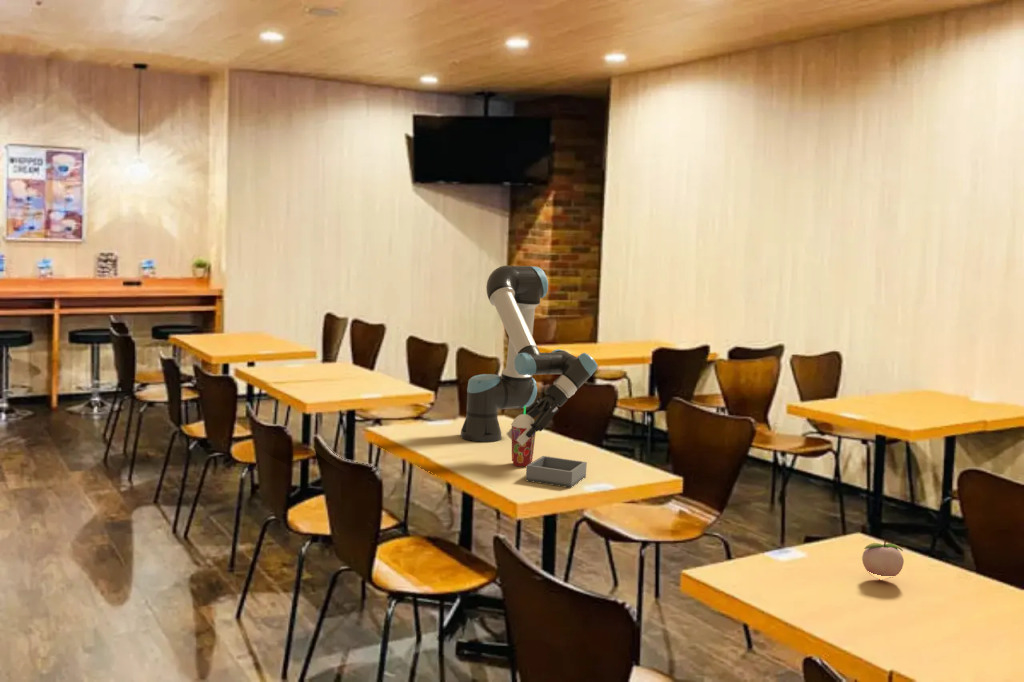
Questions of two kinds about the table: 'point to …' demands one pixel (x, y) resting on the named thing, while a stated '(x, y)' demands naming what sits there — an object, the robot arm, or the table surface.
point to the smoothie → (525, 452)
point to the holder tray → (556, 471)
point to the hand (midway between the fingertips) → (514, 439)
